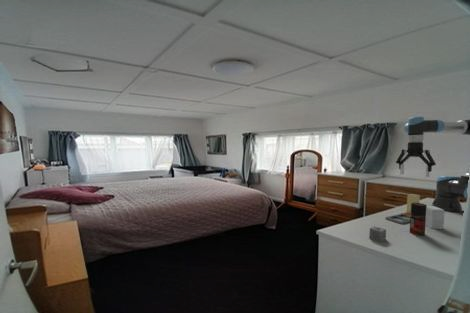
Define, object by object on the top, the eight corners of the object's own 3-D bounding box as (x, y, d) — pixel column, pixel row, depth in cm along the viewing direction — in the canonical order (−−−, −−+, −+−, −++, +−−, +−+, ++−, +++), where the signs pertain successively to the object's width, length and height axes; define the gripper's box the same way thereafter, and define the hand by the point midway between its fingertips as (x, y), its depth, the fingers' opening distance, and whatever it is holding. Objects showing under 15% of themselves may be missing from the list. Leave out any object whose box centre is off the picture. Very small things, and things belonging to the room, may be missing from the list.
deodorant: (407, 231, 113) (408, 203, 112) (413, 230, 115) (415, 202, 114) (420, 236, 108) (422, 206, 107) (427, 234, 110) (429, 205, 109)
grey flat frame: (408, 213, 142) (408, 211, 142) (425, 218, 134) (425, 215, 134) (385, 219, 132) (385, 216, 132) (402, 224, 124) (402, 221, 124)
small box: (443, 229, 117) (445, 210, 116) (431, 228, 118) (432, 209, 117) (433, 224, 124) (434, 205, 124) (422, 223, 125) (423, 205, 125)
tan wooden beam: (410, 215, 139) (411, 193, 138) (418, 217, 135) (419, 195, 134) (406, 216, 137) (407, 194, 136) (414, 218, 133) (415, 195, 132)
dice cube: (369, 238, 105) (369, 228, 105) (374, 235, 108) (374, 226, 108) (380, 242, 101) (381, 231, 101) (385, 239, 104) (386, 229, 104)
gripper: (390, 142, 147) (389, 173, 148) (437, 141, 125) (436, 178, 126) (396, 142, 150) (395, 172, 152) (443, 141, 128) (442, 177, 129)
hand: (414, 175), depth 139 cm, fingers open, 13 cm apart
